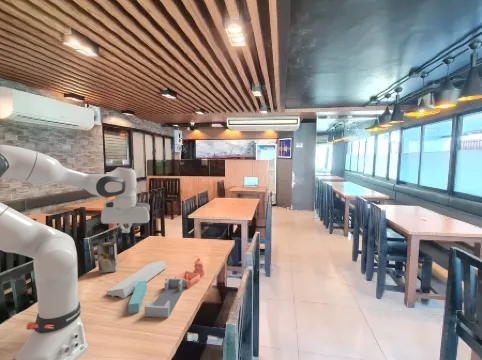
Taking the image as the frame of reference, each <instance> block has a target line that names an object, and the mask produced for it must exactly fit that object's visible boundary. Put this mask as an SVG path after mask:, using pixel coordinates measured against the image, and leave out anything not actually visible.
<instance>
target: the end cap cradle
mask: <svg viewBox="0 0 482 360" xmlns="http://www.w3.org/2000/svg"><path fill="white" fill-rule="evenodd" d="M185 280H186V278H185V279H179V278H175V277H165V281H164V288H163V289H162V291H161V292H160V293H159V295H158V296H157V298H156V299H155V300H154V299H151V301H150V302H149V303H148V305H146V304H145V305H144V307H143V309H144V318H163V319H165V318H167V319H168V318H170V316H171V313H172V312H173V311H174V309H175V307H176V304H177V303H178V301H179V299H180V298H181V297H182V294H183V292H184V291H185V288H186V287H185Z"/></svg>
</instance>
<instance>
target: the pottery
mask: <svg viewBox="0 0 482 360" xmlns="http://www.w3.org/2000/svg"><path fill="white" fill-rule="evenodd" d="M193 268H194V270H193V271H188V270H185V271H183V272H182V273H180V274H178V275H176V276H175V277H174V278H179V279H185V288H186V289H190V288H192V287H193V286H195V285H196V284H197V283H199V282H200V281H201V277H204V276H205V274H206V273H205V272H206V271H205V269H204V261H203V260H201V258H199V257H198V258H197V260H195V261H194V265H193Z"/></svg>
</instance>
